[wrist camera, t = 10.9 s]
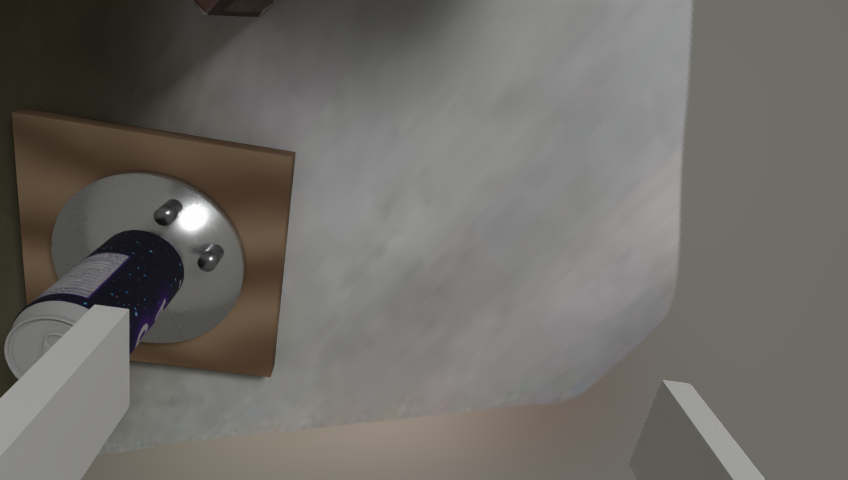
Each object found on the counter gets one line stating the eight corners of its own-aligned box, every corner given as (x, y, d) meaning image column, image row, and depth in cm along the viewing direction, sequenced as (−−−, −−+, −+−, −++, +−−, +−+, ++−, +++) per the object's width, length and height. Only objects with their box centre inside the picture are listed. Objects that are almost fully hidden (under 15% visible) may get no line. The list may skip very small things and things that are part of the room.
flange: (54, 155, 39) (27, 167, 36) (252, 186, 40) (241, 200, 37) (63, 324, 43) (40, 345, 41) (240, 346, 45) (230, 368, 42)
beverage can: (100, 287, 41) (-7, 391, 30) (109, 215, 39) (-2, 297, 28) (182, 306, 42) (105, 414, 31) (194, 237, 40) (118, 325, 29)
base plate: (25, 108, 39) (11, 112, 38) (295, 152, 41) (292, 157, 39) (41, 337, 45) (30, 348, 44) (274, 366, 47) (270, 377, 46)
